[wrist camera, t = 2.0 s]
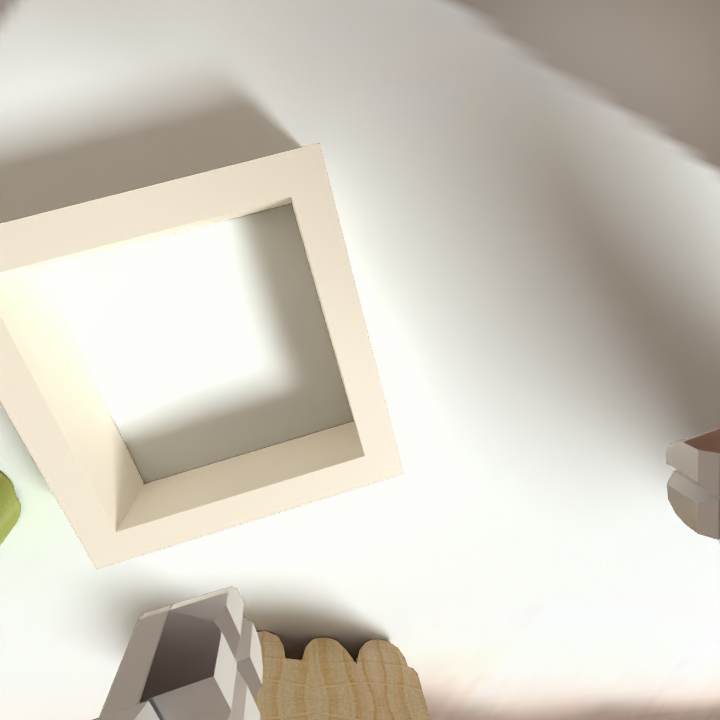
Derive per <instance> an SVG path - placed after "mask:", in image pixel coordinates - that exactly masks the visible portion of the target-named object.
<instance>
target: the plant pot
mask: <svg viewBox="0 0 720 720" xmlns="http://www.w3.org/2000/svg"><path fill="white" fill-rule="evenodd" d="M20 511H21V504H20V502H19V501H18V499H17V497H16V494H15V490H14V486H13V484H12V482H11V481H10V480H9V479H8V478H7V477H6V476H5V475H3V474H2V473H1V472H0V545H1V543H2V542H3V541H4V539H5V538H6V537H7V535H8V534H9V532H10V531H11V529H12V528H13V527H14V525H15V524H16V522H17V520H18V518H19V515H20Z"/></svg>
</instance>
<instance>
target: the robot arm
mask: <svg viewBox="0 0 720 720" xmlns="http://www.w3.org/2000/svg"><path fill="white" fill-rule="evenodd" d="M666 463H667V464H668V465H669V466H670V467H671V468H672V469H673V470H674V472H673V474H672V476H671V477H670V479H669V481H668V483H667V490H668V500H669V501H670V503H671V505H672V507H673V509H674V511H675V513H676V514H677V515H678V517H679V518H680V519H681V520H682V521H683V522H684V523H685V524H686V525H687V526H689V527H690V528H691V529H693V530H694V531H695V532H697V533H698V534H701V535H704V536H707V537H711V538H714V539H718V541H719V543H720V427H719V428H715V429H712V430H709V431H706V432H703V433H700V434H697V435H694V436H691V437H688V438H685V439H682V440H679V441H676V442H673V443H670V445H669V447H668V449H667V451H666ZM243 609H244V601H243V599H242V597H241V595H240V593H239V591H238V588H236V587H233V586H231V587H228V588H224V589H221V590H218V591H214V592H211V593H208V594H204V595H201V596H198V597H194V598H191V599H187V600H184V601H181V602H177V603H175V604H174V605H169V606H166V607H163V608H159V609H156V610H153V611H150V612H146V613H144V614H143V615H142V616H141V617H140V618H139V619H138V621H137V623H136V626H135V628H134V631H133V633H132V636H131V638H130V641H129V643H128V646H127V648H126V651H125V653H124V656H123V658H122V661H121V663H120V666H119V668H118V671H117V673H116V676H115V678H114V681H113V683H112V686H111V688H110V691H109V693H108V696H107V698H106V701H105V703H104V706H103V708H102V711H101V714H100V716H99V718H96V719H93V720H260V712H259V710H258V708H257V706H256V703H255V701H254V698H255V696H256V694H257V693H258V691H259V689H260V688H261V686H262V677H263V663H262V653H261V645H260V642H259V638H258V634H257V631H256V629H255V626H254V624H253V622H252V621H250V620H248V619H246V618H244V617H243Z"/></svg>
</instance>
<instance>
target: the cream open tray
mask: <svg viewBox="0 0 720 720" xmlns="http://www.w3.org/2000/svg"><path fill="white" fill-rule="evenodd" d="M291 203H292V206H293V210H294V213H295V217H296V220H297V224H298V227H299V231H300V234H301V238H302V241H303V245H304V248H305V252H306V255H307V259H308V262H309V266H310V269H311V273H312V276H313V280H314V283H315V287H316V290H317V294H318V297H319V301H320V304H321V308H322V312H323V315H324V319H325V322H326V326H327V329H328V333H329V336H330V340H331V343H332V347H333V350H334V354H335V357H336V361H337V364H338V368H339V371H340V375H341V378H342V382H343V385H344V389H345V392H346V396H347V399H348V403H349V406H350V410H351V413H352V417H353V420H354V421H353V422H349V423H346V424H343V425H339V426H336V427H333V428H329V429H326V430H323V431H319V432H316V433H313V434H309V435H306V436H303V437H299V438H296V439H293V440H289V441H286V442H283V443H279V444H276V445H273V446H269V447H266V448H263V449H259V450H256V451H252V452H249V453H246V454H242V455H239V456H236V457H232V458H229V459H226V460H222V461H219V462H216V463H212V464H209V465H206V466H202V467H199V468H196V469H192V470H189V471H186V472H182V473H179V474H176V475H172V476H169V477H166V478H162V479H159V480H156V481H152V482H149V483H146V484H144V482H143V480H142V478H141V476H140V474H139V472H138V470H137V468H136V466H135V464H134V462H133V459H132V457H131V455H130V453H129V451H128V449H127V447H126V445H125V443H124V441H123V439H122V437H121V435H120V433H119V431H118V429H117V426H116V424H115V422H114V420H113V418H112V416H111V414H110V412H109V410H108V408H107V406H106V404H105V402H104V400H103V398H102V396H101V393H100V391H99V389H98V387H97V385H96V383H95V381H94V379H93V377H92V375H91V373H90V371H89V369H88V367H87V365H86V363H85V360H84V358H83V356H82V354H81V352H80V350H79V348H78V346H77V344H76V342H75V340H74V338H73V336H72V334H71V332H70V330H69V328H68V325H67V323H66V321H65V319H64V317H63V315H62V313H61V311H60V309H59V307H58V305H57V303H56V301H55V299H54V297H53V295H52V292H51V290H50V288H49V286H48V284H47V282H46V280H45V278H44V276H43V274H42V272H41V270H40V269H42V268H46V267H50V266H54V265H57V264H61V263H65V262H69V261H73V260H77V259H80V258H84V257H88V256H92V255H96V254H99V253H103V252H107V251H111V250H115V249H119V248H122V247H126V246H130V245H134V244H138V243H142V242H145V241H149V240H153V239H157V238H161V237H165V236H168V235H172V234H176V233H180V232H184V231H187V230H191V229H195V228H199V227H203V226H207V225H210V224H214V223H218V222H222V221H226V220H230V219H233V218H237V217H241V216H245V215H249V214H253V213H256V212H260V211H264V210H268V209H272V208H275V207H279V206H283V205H287V204H291ZM0 402H1V403H2V405H3V407H4V409H5V410H6V412H7V414H8V416H9V417H10V419H11V421H12V423H13V424H14V426H15V428H16V430H17V431H18V433H19V435H20V437H21V438H22V440H23V442H24V444H25V445H26V447H27V449H28V451H29V453H30V454H31V456H32V458H33V460H34V461H35V463H36V465H37V467H38V468H39V470H40V472H41V474H42V475H43V477H44V479H45V481H46V482H47V484H48V486H49V488H50V489H51V491H52V493H53V495H54V496H55V498H56V500H57V502H58V503H59V505H60V507H61V509H62V510H63V512H64V514H65V516H66V517H67V519H68V521H69V523H70V524H71V526H72V528H73V530H74V531H75V533H76V535H77V537H78V538H79V540H80V542H81V544H82V545H83V547H84V549H85V551H86V552H87V554H88V556H89V558H90V559H91V561H92V563H93V565H94V566H95V568H96V569H100V568H103V567H106V566H109V565H112V564H116V563H119V562H122V561H125V560H129V559H132V558H135V557H138V556H141V555H145V554H148V553H151V552H154V551H158V550H161V549H164V548H167V547H170V546H174V545H177V544H180V543H183V542H186V541H190V540H193V539H196V538H199V537H203V536H206V535H209V534H212V533H215V532H219V531H222V530H225V529H228V528H232V527H235V526H238V525H241V524H244V523H248V522H251V521H254V520H257V519H260V518H264V517H267V516H270V515H273V514H277V513H280V512H283V511H286V510H289V509H293V508H296V507H299V506H302V505H306V504H309V503H312V502H315V501H318V500H322V499H325V498H328V497H331V496H335V495H338V494H341V493H344V492H347V491H351V490H354V489H357V488H360V487H363V486H367V485H370V484H373V483H376V482H380V481H383V480H386V479H389V478H392V477H396V476H399V475H402V474H404V473H403V469H402V465H401V461H400V457H399V453H398V449H397V446H396V442H395V438H394V434H393V430H392V426H391V422H390V418H389V414H388V410H387V406H386V402H385V398H384V394H383V391H382V387H381V383H380V379H379V375H378V371H377V367H376V363H375V359H374V355H373V351H372V347H371V343H370V339H369V335H368V332H367V328H366V324H365V320H364V316H363V312H362V308H361V304H360V300H359V296H358V292H357V288H356V284H355V280H354V277H353V273H352V269H351V265H350V261H349V257H348V253H347V249H346V245H345V241H344V237H343V233H342V229H341V225H340V222H339V218H338V214H337V210H336V206H335V202H334V198H333V194H332V190H331V186H330V182H329V178H328V174H327V170H326V166H325V163H324V159H323V155H322V151H321V147H320V143H317V144H313V145H309V146H305V147H301V148H297V149H293V150H289V151H285V152H281V153H277V154H273V155H269V156H266V157H262V158H258V159H254V160H250V161H246V162H242V163H238V164H234V165H230V166H226V167H222V168H218V169H214V170H210V171H206V172H202V173H198V174H194V175H190V176H186V177H182V178H178V179H175V180H171V181H167V182H163V183H159V184H155V185H151V186H147V187H143V188H139V189H135V190H131V191H127V192H123V193H119V194H115V195H111V196H107V197H103V198H99V199H95V200H91V201H87V202H84V203H80V204H76V205H72V206H68V207H64V208H60V209H56V210H52V211H48V212H44V213H40V214H36V215H32V216H28V217H24V218H20V219H16V220H12V221H8V222H4V223H0Z"/></svg>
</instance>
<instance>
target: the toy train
mask: <svg viewBox="0 0 720 720" xmlns="http://www.w3.org/2000/svg"><path fill="white" fill-rule="evenodd" d="M257 634H258V638H259V642H260V645H261V653H262V663H263V677H262V686H261V688H260V689H259V691H258V693H257V694H256V696H255V698H254V701H255V703H256V706H257V708H258V710H259V712H260V720H430V716H429V713H428V709H427V706H426V702H425V699H424V695H423V692H422V688H421V685H420V681H419V678H418V674H417V672H416V671H415V670H414V669H413V668H410V667H408V666H407V663H406V660H405V657H404V656H403V655H402V653H401V652H400V650H399V649H398V648H397V647H396V646H394V645H393V644H391V643H390V642H387V641H385V640H379V639H372V640H370V641H368V642H366V643H364V645H363V646H362V647H361V649H360V650H359V653H358V656H357V659H356V662H355V661H354V660H353V659H352V657H351V656H350V654H349V653H348V652H347V650H346V649H345V648H344V647H343V646H342V645H341V644H340V643H339V642H338V641H336V640H333V639H331V638H316V639H312V640H311V642H310V643H309V644H308V645H307V646H306V648H305V651H304V655H303V658H302V660H297V659H288V658H285V652H284V646H283V644H282V642H281V641H280V639H279V637H278V636H276V635H274V634H272V633H270V632H267V631H261V632H257Z"/></svg>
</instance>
